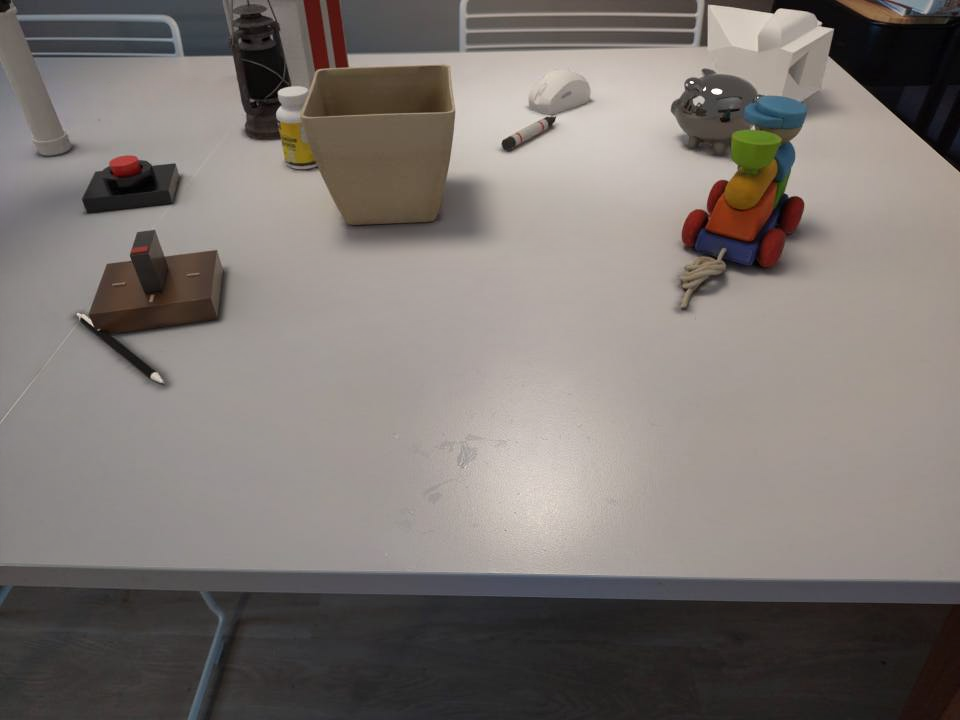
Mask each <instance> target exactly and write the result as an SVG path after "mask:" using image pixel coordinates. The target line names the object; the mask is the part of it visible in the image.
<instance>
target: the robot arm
mask: <svg viewBox="0 0 960 720" xmlns="http://www.w3.org/2000/svg"><path fill="white" fill-rule="evenodd" d="M10 3H11V0H0V13H5V12H6V11H7V10H9V9H10V5H9V4H10Z"/></svg>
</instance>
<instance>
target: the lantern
mask: <svg viewBox="0 0 960 720" xmlns="http://www.w3.org/2000/svg"><path fill="white" fill-rule="evenodd" d="M267 1H268V3H269V6H270V8H271V11H272V13H273V16H274V18H275V21H273V19H272V18H270V17H267V16H263V15H261V12H264V11H266V10H267V8H266V7H265V6H262V5H257V4H249V0H247V5H242V6H239V7H237V8H235V9H233V0H231V26H232V34H231V36H230V35H229V37H226V42H227V45H228V49H230V50H231V54H232V58H233V63H234V69H235V73H236V79H237V84H238V90H239V95H240V101H241V105H242V108H243V111H244V112H245V114H246V115H245V119H246V121H245V123H244V133H245V135H246V136H247V137H249V138H251V139H254V140H255V139H256V140H279V139H280V140H281V137H280V132H279V127H278V123H277V118H276V112H277V110H278V109H279V107H280V106H282V104H281V103H280V102H279V98H278V91H279V90H280V89H283V88H286V87H292V86H291V80H290V76H289V72H288V68H287V63H286V59H285V55H284V50H283V46H282V42H281V38H280V33H279V31H281V29H280V25H279V23H278V22H277V19H276V17H275V14H274V12H273V9H272V7H271V4H270V1H269V0H267ZM233 13H234V14H240V18H238V19H236V20H234V21H233ZM233 26H234V27H238V30H236V31H235V32H234V31H233ZM268 26H270V27H268ZM270 35H272V36H273V40H272V39H271V36H270ZM239 38H240V39H241V42H240V44H239V42H238V40H239ZM250 99H252V100H255V101H253V102H250Z"/></svg>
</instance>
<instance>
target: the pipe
mask: <svg viewBox="0 0 960 720" xmlns="http://www.w3.org/2000/svg"><path fill="white" fill-rule="evenodd" d="M9 5H10V9H9V10H7V11H6V12H5V13H0V64H1V66H2V68H3V71H4V73H5V75H6V78H7V80H8V83H9V85H10V86H11V89H12V91H13V93H14V96H15V98H16V100H17V103H18V104H19V107H20V109H21V112H22V114H23V116H24V118H25V121H26V124H27V125H28V128H29V129H30V133H31V135H32V137H31V142H32V143H33V144H34V145H35V148H36V150H37V152H38V154H39V155H41V156H46V157H49V156H59V155H62V154H65V153H67V152H69V151H70V150H71V149H72V144H71V141H70V139H69V134H68V132H67V131H65V130H64V129H63V127H62V124H61V122H60V119H59V117H58V115H57V112H56V109H55V107H54V104H53V102H52V100H51V97H50V94H49V92H48V90H47V88H46V85H45V83H44V81H43V77H42V75H41V73H40V70H39V68H38V65H37V63H36V61H35V57H34V55H33V53H32V51H31V49H30V46H29V43H28V41H27V39H26V36H25V34H24V31H23V29H22V26H21V24H20V22H19V19H18V16H17V15H16V14H17V13H18V9H17V6H15V4H14V2H13V0H11V3H10V4H9Z"/></svg>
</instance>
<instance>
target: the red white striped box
mask: <svg viewBox="0 0 960 720" xmlns="http://www.w3.org/2000/svg"><path fill="white" fill-rule="evenodd" d="M269 1H270V4H271V7H272V9H273V12H274V14H275V17H276V19H277V22H278V23H279V25H280V29H281V31H279V33H280V38H281V42H282V46H283V50H284V55H285V59H286V63H287V68H288V72H289V76H290V80H291V86H301V87H305V88H307V89H308V92H309V90H310V87H311V85H312V82H313V78H314V75H315V72H316V71H317V70H319V69H326V68H350V65H349V56H348V49H347V42H346V33H345V28H344V19H343V12H342V4H341V3H342V2H341V0H269ZM221 2H222V6H223V10H224V14H225V18H226V23H227V27H228V31H229V37H230V36H231V34H232V26H231V0H222V1H221ZM249 4H257V5H262V6H265V7H266V8H267V10H266V11H264V12H261V15H263V16H267V17H270V18H272V19H273V21H275V18H274V16H273V13H272V11H271V8H270V6H269V3H268V1H267V0H249ZM242 5H247V0H233V9H235V8H237V7H239V6H242ZM238 18H240V14H234V13H233V21H234V20H236V19H238ZM268 27H270V26H268ZM236 30H238V27H234V26H233V31H234V32H235V31H236ZM270 36H271V39H272V40H273V36H272V35H270ZM238 42H239V44H240V42H241V39H240V38H239V40H238ZM253 101H255V100H252V99H250V102H253Z"/></svg>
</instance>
